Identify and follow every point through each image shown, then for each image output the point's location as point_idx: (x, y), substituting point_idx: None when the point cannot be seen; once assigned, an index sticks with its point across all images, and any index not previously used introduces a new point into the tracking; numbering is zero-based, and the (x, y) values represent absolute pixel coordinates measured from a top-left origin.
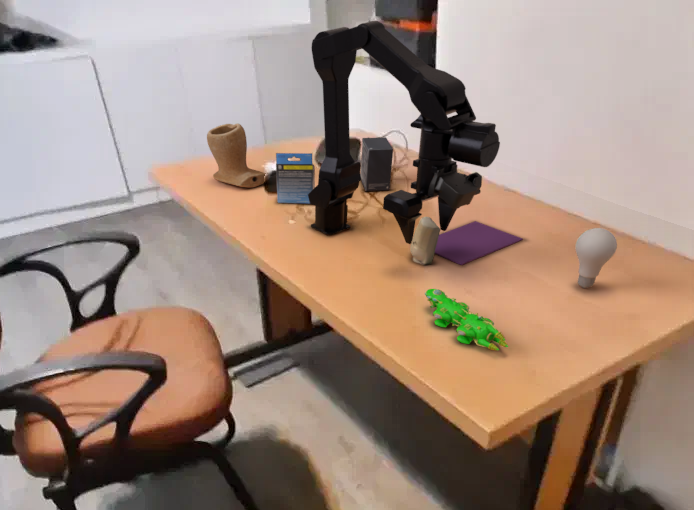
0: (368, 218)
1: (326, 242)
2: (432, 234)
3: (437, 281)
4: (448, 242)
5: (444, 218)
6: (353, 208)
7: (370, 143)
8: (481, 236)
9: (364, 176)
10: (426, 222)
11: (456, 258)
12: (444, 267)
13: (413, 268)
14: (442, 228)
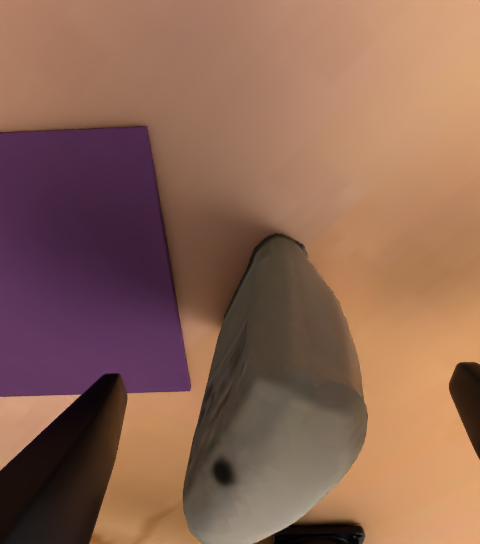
0: (185, 537)
1: (399, 506)
2: (338, 358)
3: (418, 51)
4: (55, 335)
5: (83, 478)
6: None
7: None
8: None
9: None
10: (300, 498)
11: (124, 197)
12: (242, 168)
13: (368, 252)
14: (119, 398)
